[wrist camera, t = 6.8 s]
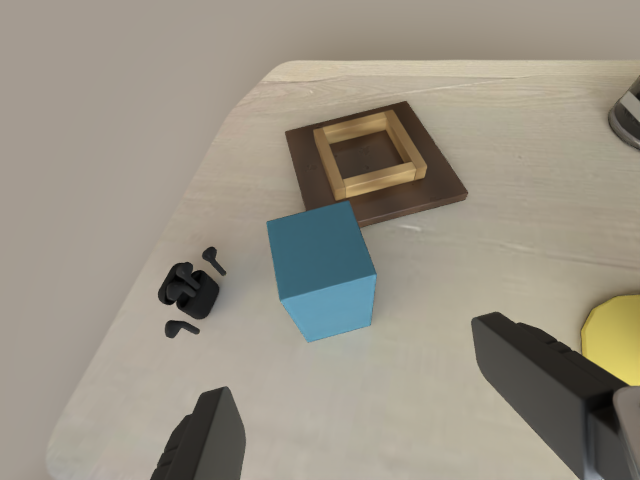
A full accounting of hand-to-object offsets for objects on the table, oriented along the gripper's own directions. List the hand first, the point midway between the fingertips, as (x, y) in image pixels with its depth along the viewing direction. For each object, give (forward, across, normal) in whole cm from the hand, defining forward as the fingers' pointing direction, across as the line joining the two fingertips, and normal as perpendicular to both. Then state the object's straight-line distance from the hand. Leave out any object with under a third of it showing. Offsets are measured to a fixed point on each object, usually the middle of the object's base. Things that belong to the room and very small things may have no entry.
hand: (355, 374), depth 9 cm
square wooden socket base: (+22, -7, -6) cm, 24 cm away
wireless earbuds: (+15, +10, +2) cm, 18 cm away
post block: (+13, 0, +4) cm, 13 cm away
